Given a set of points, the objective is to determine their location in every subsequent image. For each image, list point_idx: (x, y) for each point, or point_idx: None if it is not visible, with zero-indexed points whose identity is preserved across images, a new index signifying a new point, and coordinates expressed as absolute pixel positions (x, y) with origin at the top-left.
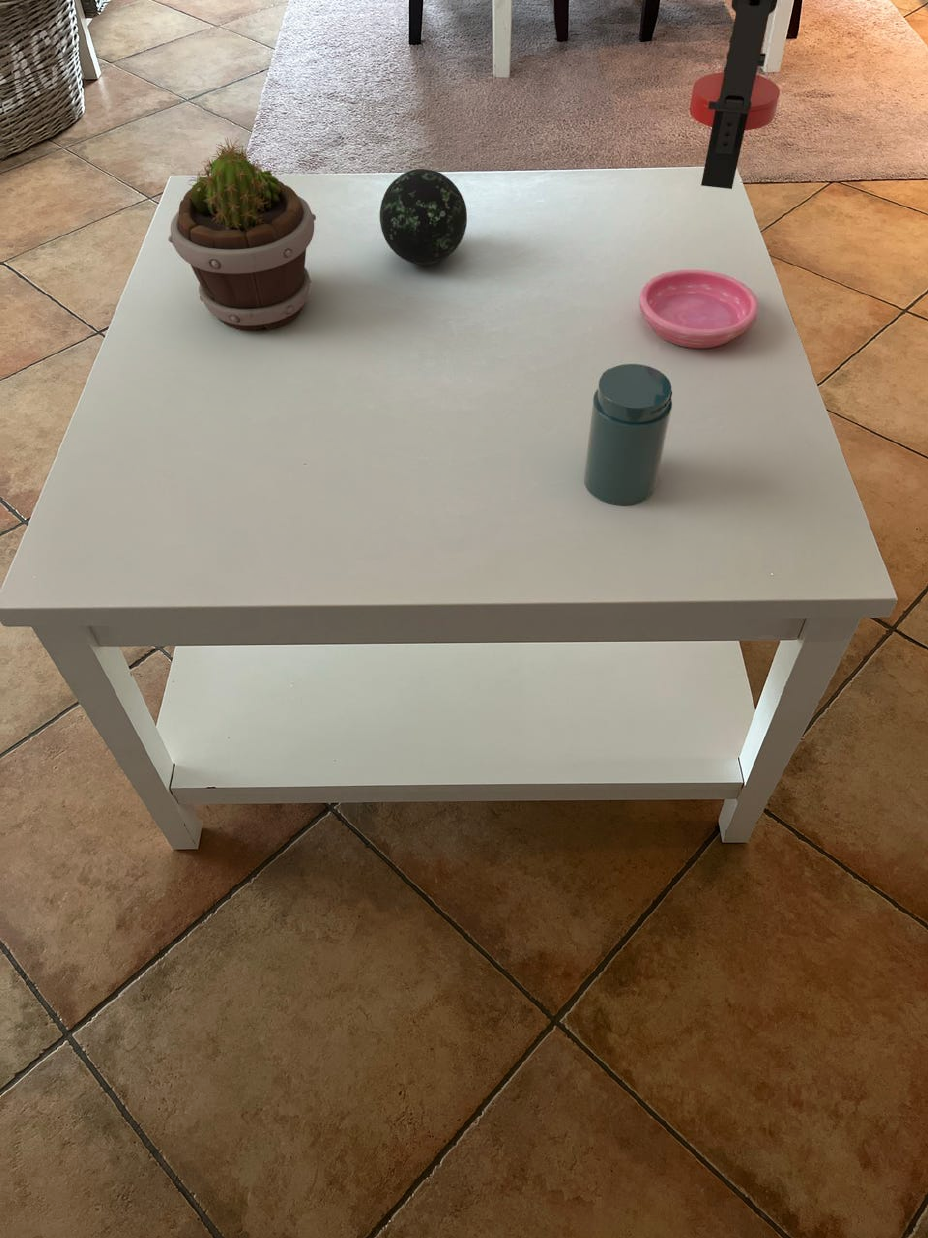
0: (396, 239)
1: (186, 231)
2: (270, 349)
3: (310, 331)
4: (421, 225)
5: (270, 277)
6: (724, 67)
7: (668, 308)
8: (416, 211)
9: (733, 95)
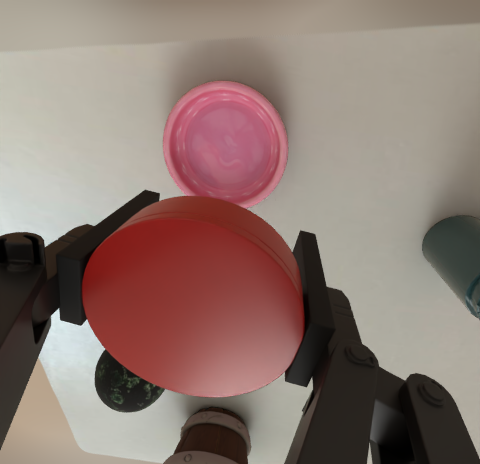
0: None
1: None
2: (264, 421)
3: (244, 404)
4: None
5: (243, 461)
6: (67, 321)
7: (213, 173)
8: (154, 394)
9: (409, 445)
